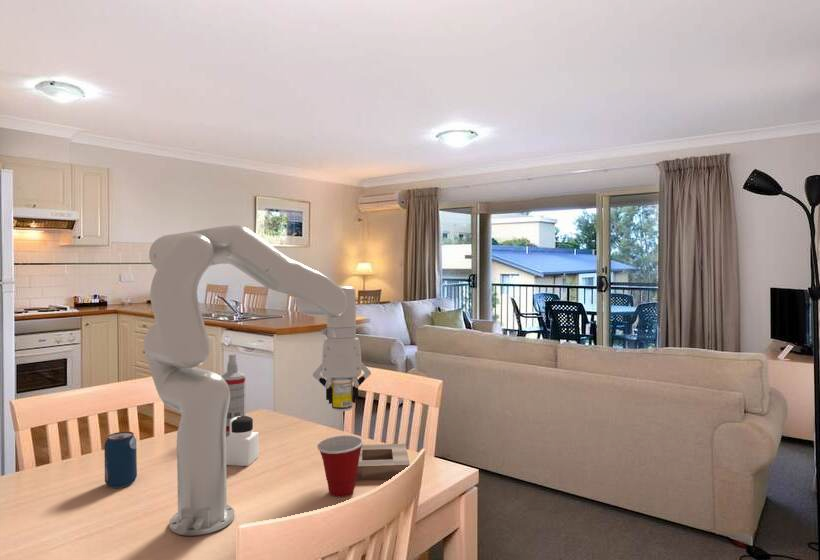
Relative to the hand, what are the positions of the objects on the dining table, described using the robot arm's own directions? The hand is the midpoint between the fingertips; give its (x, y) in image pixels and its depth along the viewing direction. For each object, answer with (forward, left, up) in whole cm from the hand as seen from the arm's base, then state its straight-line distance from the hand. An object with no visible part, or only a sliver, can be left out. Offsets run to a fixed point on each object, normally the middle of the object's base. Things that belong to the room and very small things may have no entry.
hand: (342, 401), depth 140 cm
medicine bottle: (+8, +28, -18) cm, 34 cm away
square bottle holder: (0, -9, -18) cm, 20 cm away
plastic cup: (-14, 0, -18) cm, 23 cm away
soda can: (-5, +54, -18) cm, 57 cm away
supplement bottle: (0, 0, -2) cm, 2 cm away
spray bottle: (+36, +37, -18) cm, 55 cm away
